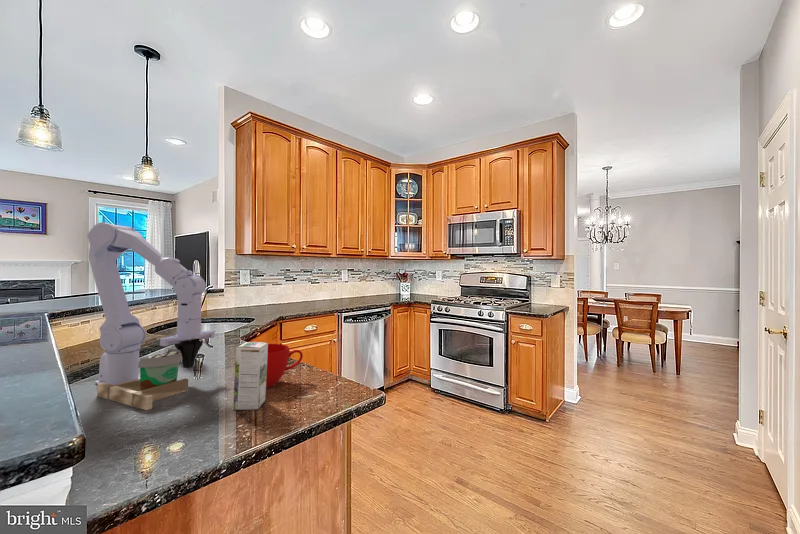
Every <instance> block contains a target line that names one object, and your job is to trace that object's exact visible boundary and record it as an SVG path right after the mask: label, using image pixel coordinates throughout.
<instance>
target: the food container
mask: <svg viewBox="0 0 800 534" xmlns="http://www.w3.org/2000/svg"><path fill="white" fill-rule="evenodd" d="M182 359H183V358H182V353H181V351H180V350H177V349H176V348H167V351H165V352H163V353H158V354H155V355H154V356H152V357H150V358H149V357H148V358H142V357H139V366H138V367H139V375H140V376H139V377H140V391H142V390H145V389H149V388H153V387H156V386H160V385H164V384H167V383H171V382H175V381H178V375H179V374H178V373H179V366H180V363H181V362H180V361H182Z"/></svg>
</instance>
